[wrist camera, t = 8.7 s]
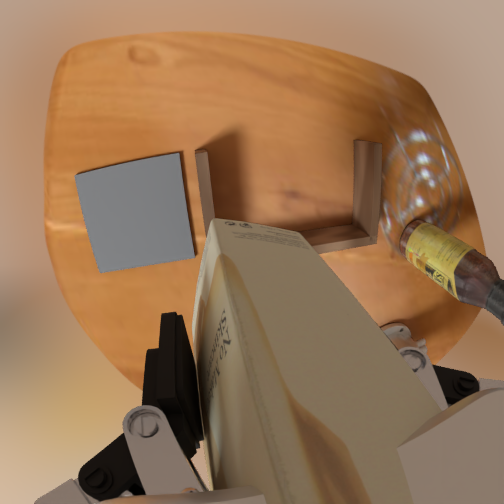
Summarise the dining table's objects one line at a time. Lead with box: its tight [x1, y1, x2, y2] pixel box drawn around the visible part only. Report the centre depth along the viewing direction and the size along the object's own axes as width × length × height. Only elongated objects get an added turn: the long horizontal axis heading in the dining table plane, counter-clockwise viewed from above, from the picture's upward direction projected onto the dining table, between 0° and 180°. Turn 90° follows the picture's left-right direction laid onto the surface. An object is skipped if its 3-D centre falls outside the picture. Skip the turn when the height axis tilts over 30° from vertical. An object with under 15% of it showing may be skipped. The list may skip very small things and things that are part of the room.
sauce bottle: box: [400, 220, 504, 325], centre depth 27 cm, size 7×6×20 cm
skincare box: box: [192, 218, 442, 504], centre depth 8 cm, size 6×4×12 cm
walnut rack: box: [195, 140, 382, 254], centre depth 28 cm, size 18×11×4 cm, turn 95°
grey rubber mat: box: [75, 153, 195, 273], centre depth 27 cm, size 11×11×1 cm
